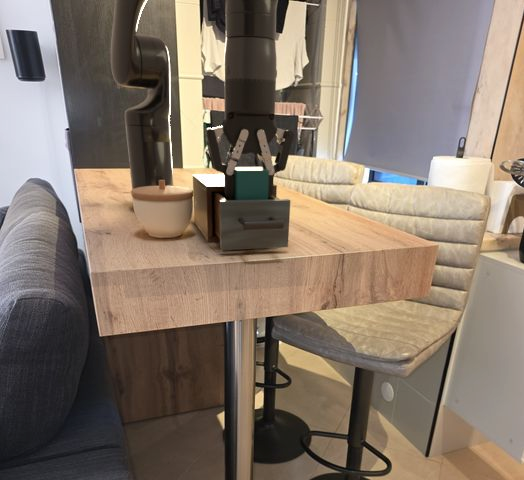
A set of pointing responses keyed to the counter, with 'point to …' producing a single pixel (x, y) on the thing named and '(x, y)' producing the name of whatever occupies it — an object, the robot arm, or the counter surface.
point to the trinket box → (163, 209)
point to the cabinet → (208, 201)
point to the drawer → (250, 222)
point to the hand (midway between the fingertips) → (248, 198)
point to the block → (251, 183)
